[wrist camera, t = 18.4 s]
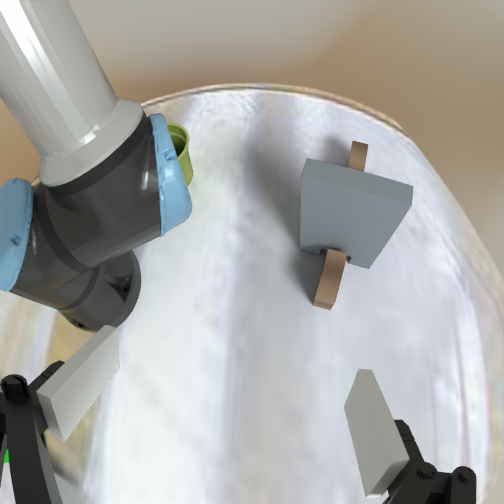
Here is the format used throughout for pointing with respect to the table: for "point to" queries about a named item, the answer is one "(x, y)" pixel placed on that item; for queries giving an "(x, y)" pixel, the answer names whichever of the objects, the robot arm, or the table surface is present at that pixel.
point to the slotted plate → (349, 211)
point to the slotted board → (335, 258)
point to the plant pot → (181, 149)
